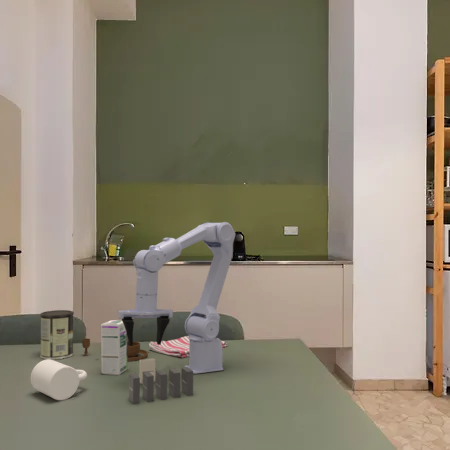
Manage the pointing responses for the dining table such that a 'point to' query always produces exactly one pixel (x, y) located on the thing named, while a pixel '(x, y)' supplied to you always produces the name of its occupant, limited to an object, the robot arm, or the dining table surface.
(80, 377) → the mug
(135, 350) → the place setting
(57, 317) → the coffee can
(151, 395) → the domino
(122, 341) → the syrup box
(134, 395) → the domino
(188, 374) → the domino
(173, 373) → the domino
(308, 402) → the dining table surface
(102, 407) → the dining table surface
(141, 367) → the domino
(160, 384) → the domino
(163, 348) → the dish towel
